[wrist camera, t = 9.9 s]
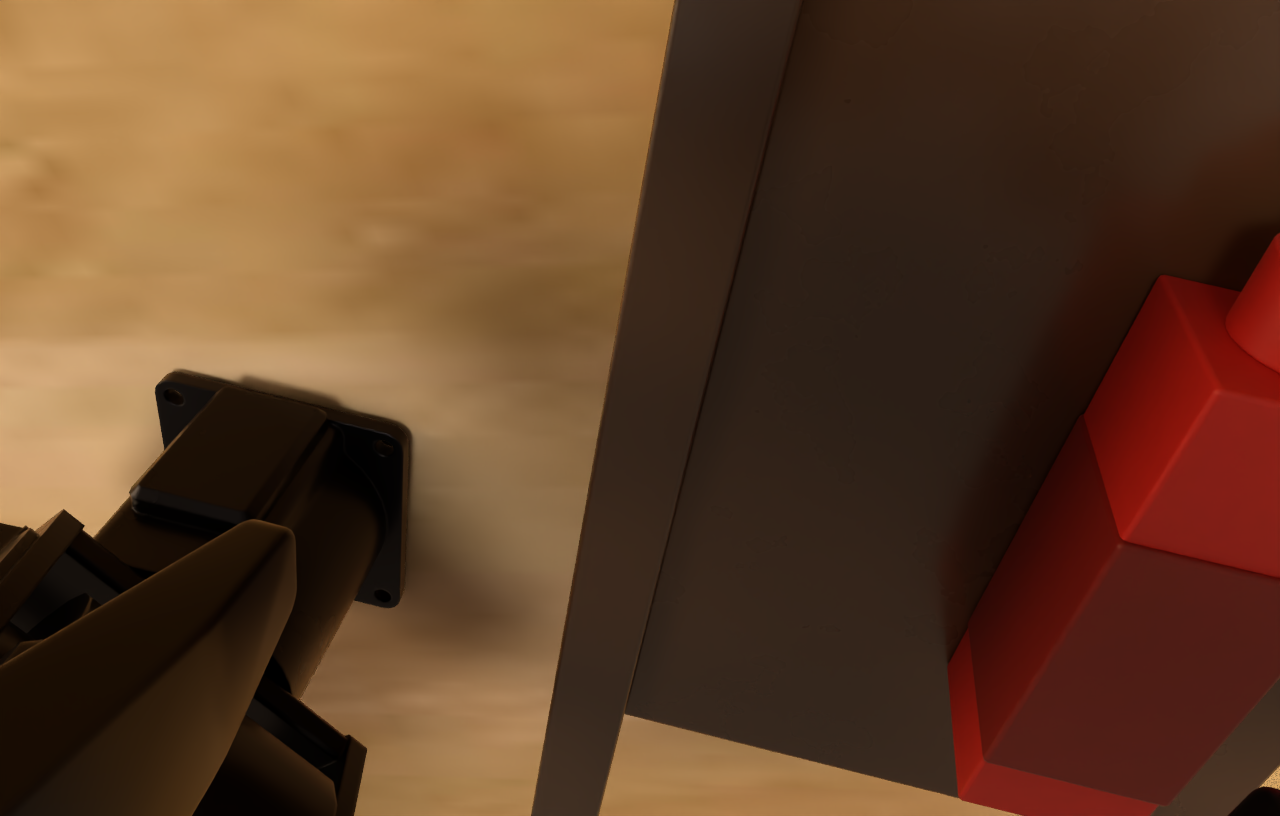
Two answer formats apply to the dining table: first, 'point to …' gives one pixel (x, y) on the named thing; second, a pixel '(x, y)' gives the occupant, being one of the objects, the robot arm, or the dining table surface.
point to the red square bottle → (1137, 573)
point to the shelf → (885, 352)
